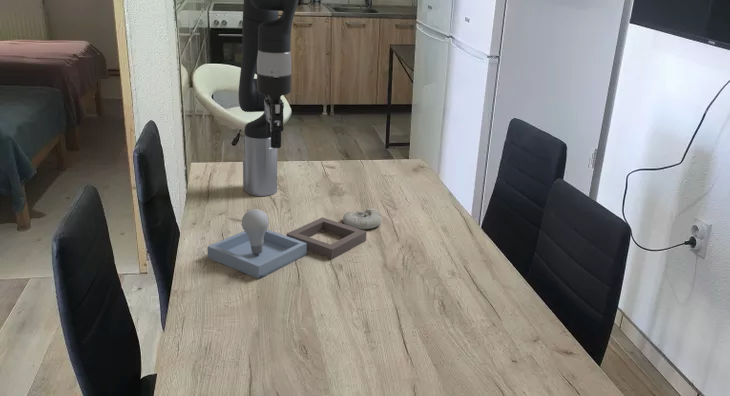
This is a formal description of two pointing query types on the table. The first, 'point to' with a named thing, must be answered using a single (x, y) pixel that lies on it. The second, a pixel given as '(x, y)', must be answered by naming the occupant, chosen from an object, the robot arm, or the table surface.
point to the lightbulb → (255, 228)
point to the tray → (272, 258)
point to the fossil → (363, 219)
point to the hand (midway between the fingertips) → (273, 141)
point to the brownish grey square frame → (324, 249)
